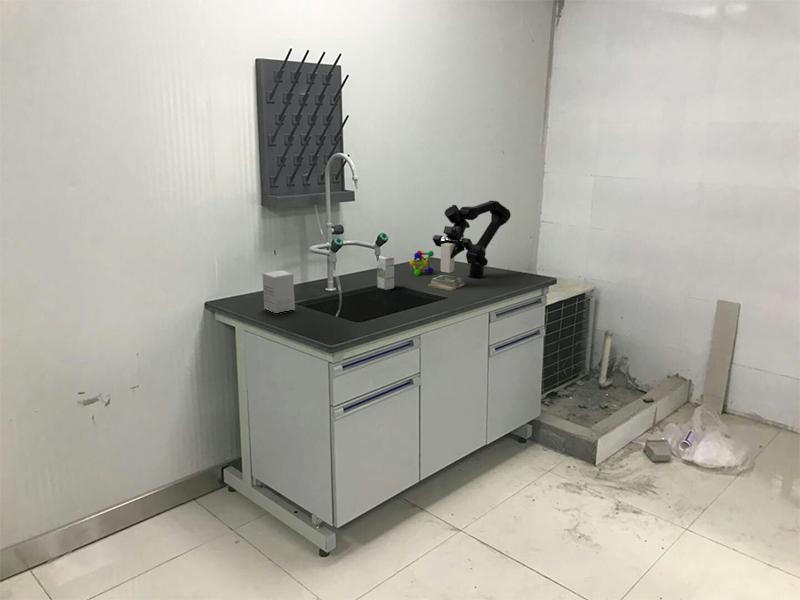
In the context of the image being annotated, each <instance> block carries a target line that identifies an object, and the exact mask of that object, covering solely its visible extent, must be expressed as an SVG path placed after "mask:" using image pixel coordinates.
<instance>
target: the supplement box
mask: <svg viewBox="0 0 800 600" xmlns="http://www.w3.org/2000/svg"><path fill="white" fill-rule="evenodd" d="M261 274H262V288H263V291H262V292H263V304H264V305H263V306H264V310H265V309H266V310H269V311H271V312H274V313H279V312H283V311H289V310H293V311H295V310H296V303H295V287H294V286H295V285H294V273H291V272H288V271H285V270H282V269H281V270H275V271H270V272H264V273H263V272H262V273H261ZM266 310H265V311H266ZM269 311H268V312H269ZM271 312H270V313H271ZM289 312H290V311H289ZM274 313H273V314H274Z"/></svg>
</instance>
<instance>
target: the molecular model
mask: <svg viewBox="0 0 800 600" xmlns="http://www.w3.org/2000/svg"><path fill="white" fill-rule="evenodd" d="M434 254H435V253H434V251H433V250H429V251H428V252H422V251H421V250H418V251H416V252H415V253H414V256H413V257H414V258H413V259H411V260H410V261H409V265H410V266H411V267H412V268H413V269H414V272H413V274H414V276H416V277H418V276H420V274H421V273H422V272H426V273H428V274H433V273H434V268H433V267H431V265H430V264H429V262H430V261H429V259H430V258H431V257H433V256H434ZM425 255H427V257H424V256H425ZM417 259H419V260H420V261H417ZM417 265H421V266H419V267H418V266H417ZM424 267H426V268H427V269H423V268H424Z"/></svg>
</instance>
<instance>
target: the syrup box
mask: <svg viewBox="0 0 800 600" xmlns="http://www.w3.org/2000/svg"><path fill="white" fill-rule="evenodd" d="M376 283H377V284H376V286H377V287H376V288H378V289H381V290H385V291H386V290H387V291H388V290H391V289H394V288H395V257H394V256H393V255H391V256H390V255H387V254H384V255H379V260H378V261H377V260H376Z"/></svg>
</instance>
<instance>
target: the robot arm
mask: <svg viewBox="0 0 800 600" xmlns="http://www.w3.org/2000/svg"><path fill="white" fill-rule="evenodd" d="M485 213H490V214H491V216H490V217H491V218H490V220H491V221H490V223H489V224H488V226H487V227H486V229H485V230H484V232H483V233H482V235H481V237H480V238H479V240H478V241H477V242H476V243H474V244H473V242H472V240H471V238H467V237H465V235H464V233H465V231H466V229H469V228H470V225H471V224H469V221H474V220H475V219H478V217H479V216H481V215H482V214H485ZM511 214H512V213H511V212H510V210H509V209H508V208H507V207H506V206H504V205H503V204H501V202H499V201H498V200H488V201H487V202H483V203H480V204H477V205H474V206H462V207H460V209H459V208H458V206H457V205H456V204H452V205H451V206H449V207H448V208H446V209H445V211H444V216H445V217H446V218H447V220H448V221H449V222H450V223H451V224H453V226H451V225H450V226H449V225H445V226H444V228H443V234H445V236H446V237H444V236H443V235H439V234H434V235H433V237H432V241H433V243H434V244H435V246H436V247H439V248H441V244H444V243H451V244H455V247H454V249H453V252H452V254H451V257H450V258H451V259H452V258H453V257H454V258H455V257H456V256H458V255H459V254H460V253H461V252H464V251H466V253H465V257H466V262H467V264H468V265H470V268H469V274H468V275H467V277H469V278H472V279H476V280H477V279H482V278H486V277H487V276H486V275H485V274H484V273H485V271H484V269H485V267H486V266H488V262H489V260H488V259H487V258H486V254H487V252H486V249H487V247H488V246H489V244H490V243H491V242H492V241H493V238H494V237H495V235H496V233H497V232H498V231H499V229H500V227H501V226H503V225H506V223H508V221H509V220H510V219H511ZM467 220H468V221H467Z"/></svg>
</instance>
